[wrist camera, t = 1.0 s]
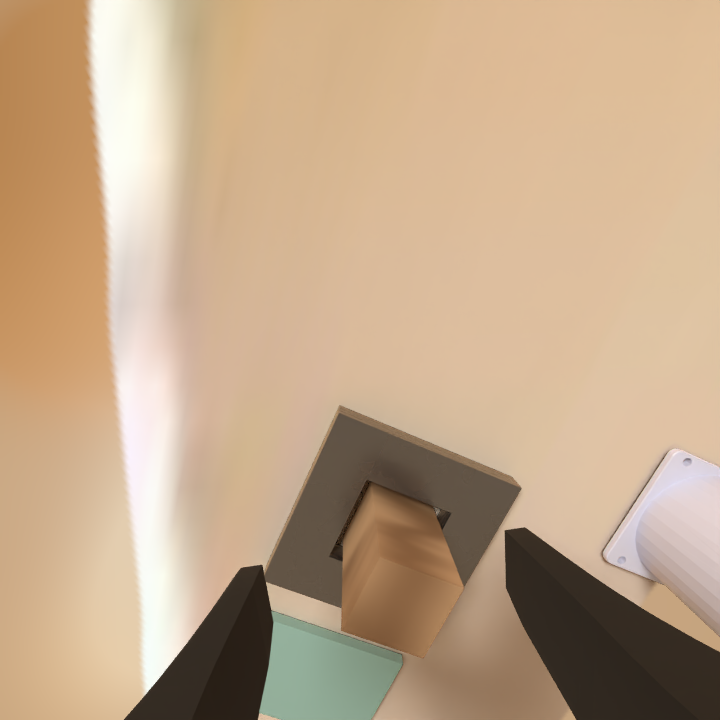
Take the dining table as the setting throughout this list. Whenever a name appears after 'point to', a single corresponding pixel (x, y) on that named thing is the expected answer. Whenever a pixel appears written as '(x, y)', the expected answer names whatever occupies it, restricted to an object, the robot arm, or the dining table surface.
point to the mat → (324, 674)
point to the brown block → (396, 572)
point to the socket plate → (394, 471)
